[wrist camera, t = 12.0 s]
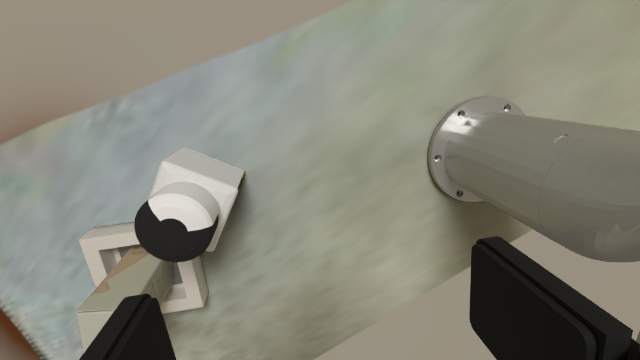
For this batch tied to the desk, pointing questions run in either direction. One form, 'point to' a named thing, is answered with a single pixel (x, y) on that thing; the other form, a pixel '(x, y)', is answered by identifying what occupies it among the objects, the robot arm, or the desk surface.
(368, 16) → the desk surface
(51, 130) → the desk surface
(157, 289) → the box
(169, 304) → the shallow square tray
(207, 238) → the medicine bottle
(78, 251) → the desk surface
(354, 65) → the desk surface
